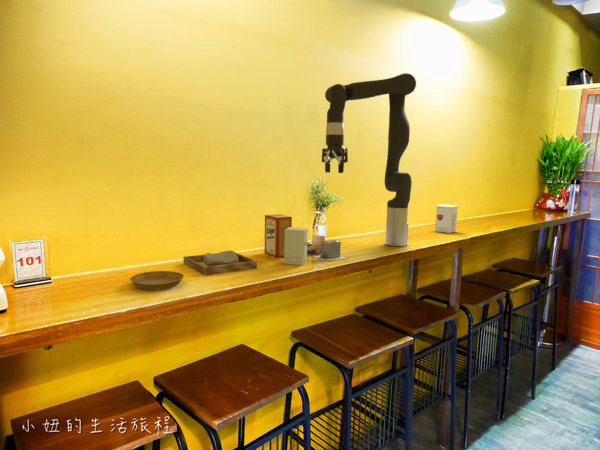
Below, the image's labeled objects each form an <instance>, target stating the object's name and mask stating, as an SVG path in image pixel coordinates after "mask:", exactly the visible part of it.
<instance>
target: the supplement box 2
mask: <svg viewBox="0 0 600 450" xmlns="http://www.w3.org/2000/svg"><path fill="white" fill-rule="evenodd" d="M458 207H459V206H458V205H453V204H443V203H442V204H437V205H436V207H435V208H436V210H435V211H436V212H435V223H434V224H435V225H434V232H435V231H436V232H437V233H442V232H445V233H444V234H453V233H457V232H456V231H457V220H458V219H457V218H458ZM436 232H435V233H436ZM452 232H453V233H452Z"/></svg>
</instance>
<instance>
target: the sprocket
mask: <svg viewBox="0 0 600 450" xmlns="http://www.w3.org/2000/svg"><path fill="white" fill-rule="evenodd" d="M322 241H326V236H325V235H320V234H312V235H311V242H308V241H307V252H308V253H312V252H315V253H319V252H320V244H321V242H322Z"/></svg>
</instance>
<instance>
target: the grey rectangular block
mask: <svg viewBox="0 0 600 450" xmlns="http://www.w3.org/2000/svg"><path fill="white" fill-rule="evenodd" d="M341 242H342V241H341V240H339V239H337V240H335V239H334V240H333V239H332V240H330V239H329V240H325V241H322V242H321V244H320V254H319V255H320V258H323V259H329V258H336V257H340V256H341V249H342V248H341V245H342V243H341Z"/></svg>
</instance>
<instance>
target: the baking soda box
mask: <svg viewBox="0 0 600 450" xmlns="http://www.w3.org/2000/svg"><path fill="white" fill-rule="evenodd" d="M292 218H293V217H292V216H291V215H290V216H289V215H285V214H282V213H280V214H279V213H278V214H277V213H275V214H264V255H267V256H269V257H272V258H274V259H281V258H283V259H284V240H285V229H287V228H289V227H293V226H292V220H293V219H292Z"/></svg>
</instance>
